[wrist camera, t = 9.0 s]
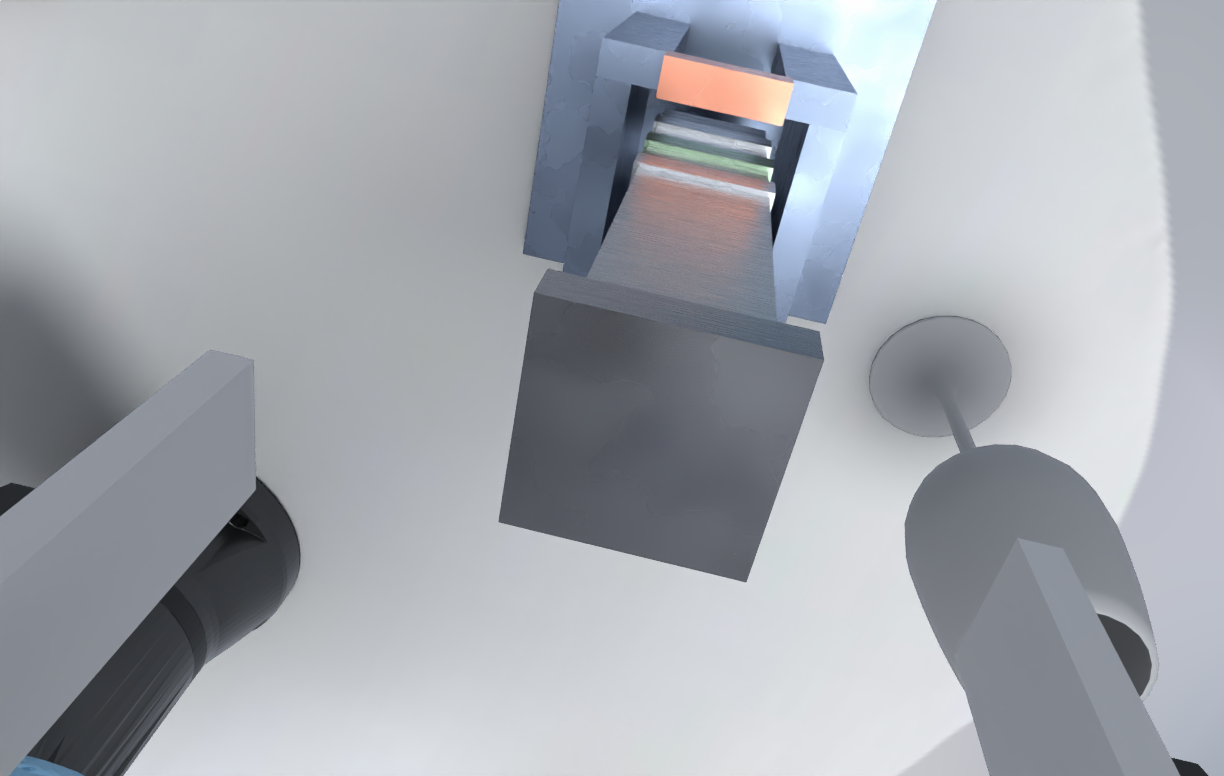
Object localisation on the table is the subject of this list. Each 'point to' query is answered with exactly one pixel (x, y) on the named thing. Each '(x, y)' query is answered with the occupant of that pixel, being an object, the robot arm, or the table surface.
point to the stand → (726, 116)
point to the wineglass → (996, 494)
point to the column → (666, 365)
